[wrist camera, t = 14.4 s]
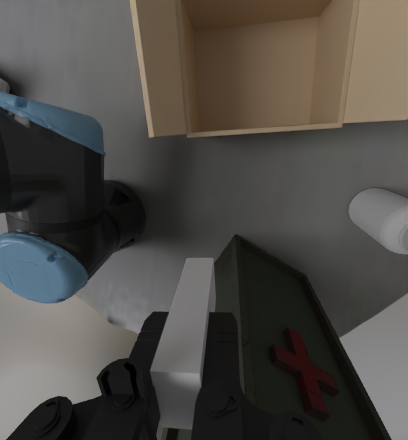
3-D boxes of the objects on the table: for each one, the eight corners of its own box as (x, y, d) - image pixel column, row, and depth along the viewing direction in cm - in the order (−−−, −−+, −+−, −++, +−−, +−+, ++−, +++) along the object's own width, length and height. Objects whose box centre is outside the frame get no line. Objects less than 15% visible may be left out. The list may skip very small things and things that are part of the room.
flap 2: (406, 119, 22) (411, 119, 22) (458, -109, 17) (464, -108, 17) (343, 123, 29) (347, 122, 30) (364, -35, 24) (369, -35, 24)
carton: (197, 135, 43) (186, 137, 32) (190, 28, 37) (173, -13, 26) (311, 127, 41) (342, 127, 30) (322, 12, 35) (365, -41, 24)
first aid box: (193, 292, 56) (124, 608, 19) (235, 234, 50) (254, 546, 13) (257, 327, 58) (306, 674, 21) (306, 275, 52) (501, 651, 15)
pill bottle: (367, 178, 43) (433, 203, 29) (402, 200, 44) (482, 233, 30) (337, 213, 46) (384, 251, 32) (370, 233, 47) (430, 277, 33)
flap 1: (186, 133, 32) (182, 134, 32) (174, -8, 26) (169, -7, 27) (153, 137, 25) (149, 137, 25) (128, -54, 19) (122, -52, 20)
